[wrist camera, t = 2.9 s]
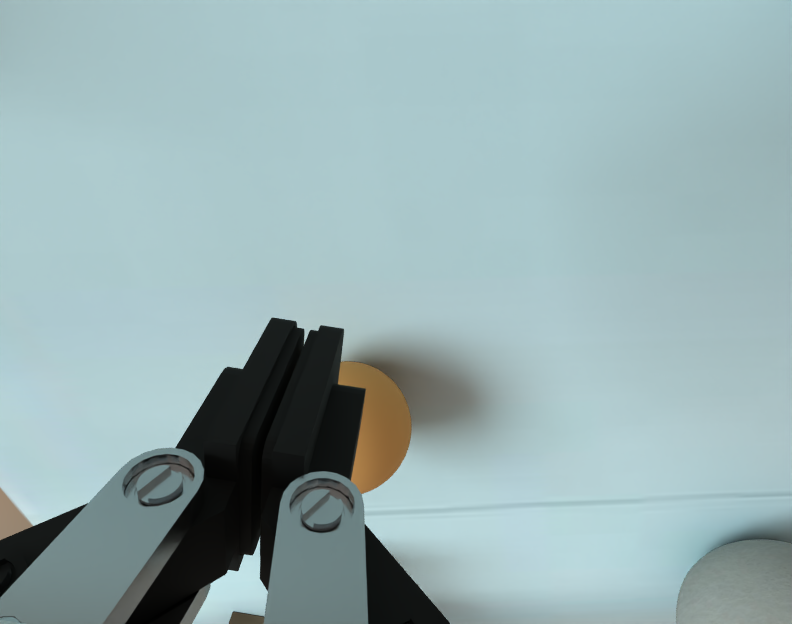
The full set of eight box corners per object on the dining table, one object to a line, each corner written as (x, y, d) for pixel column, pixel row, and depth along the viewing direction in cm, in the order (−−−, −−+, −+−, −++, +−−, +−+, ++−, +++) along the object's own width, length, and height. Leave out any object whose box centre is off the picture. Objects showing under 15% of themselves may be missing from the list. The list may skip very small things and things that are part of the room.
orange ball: (424, 348, 24) (418, 438, 19) (404, 437, 27) (395, 536, 22) (301, 326, 24) (261, 411, 19) (296, 418, 27) (260, 513, 22)
